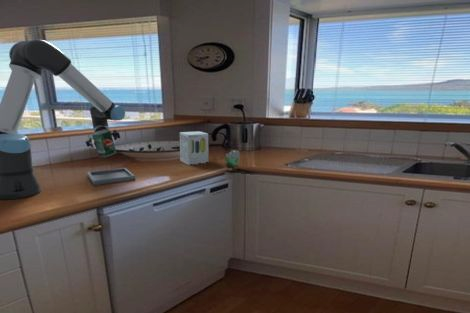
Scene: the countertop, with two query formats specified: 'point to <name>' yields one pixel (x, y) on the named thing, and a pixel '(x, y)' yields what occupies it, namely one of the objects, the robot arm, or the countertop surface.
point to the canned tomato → (104, 143)
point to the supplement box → (193, 147)
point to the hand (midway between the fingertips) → (104, 143)
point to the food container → (232, 160)
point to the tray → (110, 176)
